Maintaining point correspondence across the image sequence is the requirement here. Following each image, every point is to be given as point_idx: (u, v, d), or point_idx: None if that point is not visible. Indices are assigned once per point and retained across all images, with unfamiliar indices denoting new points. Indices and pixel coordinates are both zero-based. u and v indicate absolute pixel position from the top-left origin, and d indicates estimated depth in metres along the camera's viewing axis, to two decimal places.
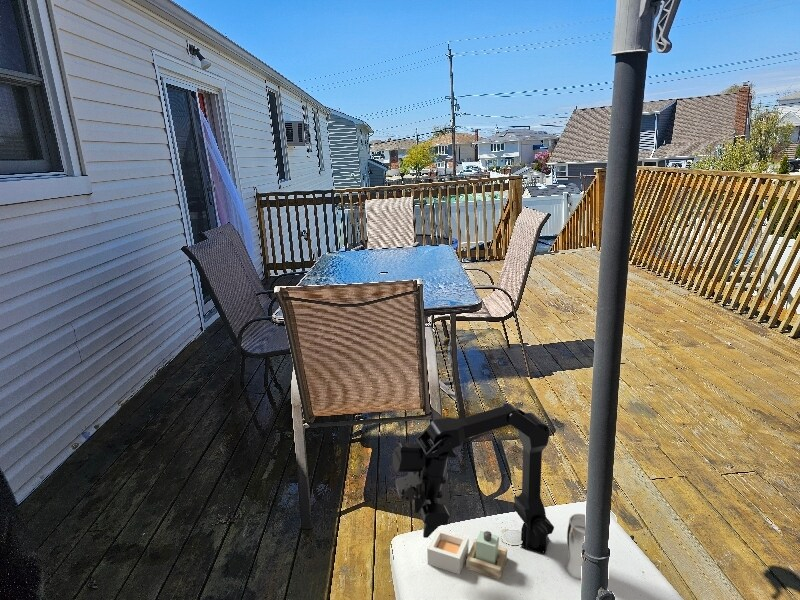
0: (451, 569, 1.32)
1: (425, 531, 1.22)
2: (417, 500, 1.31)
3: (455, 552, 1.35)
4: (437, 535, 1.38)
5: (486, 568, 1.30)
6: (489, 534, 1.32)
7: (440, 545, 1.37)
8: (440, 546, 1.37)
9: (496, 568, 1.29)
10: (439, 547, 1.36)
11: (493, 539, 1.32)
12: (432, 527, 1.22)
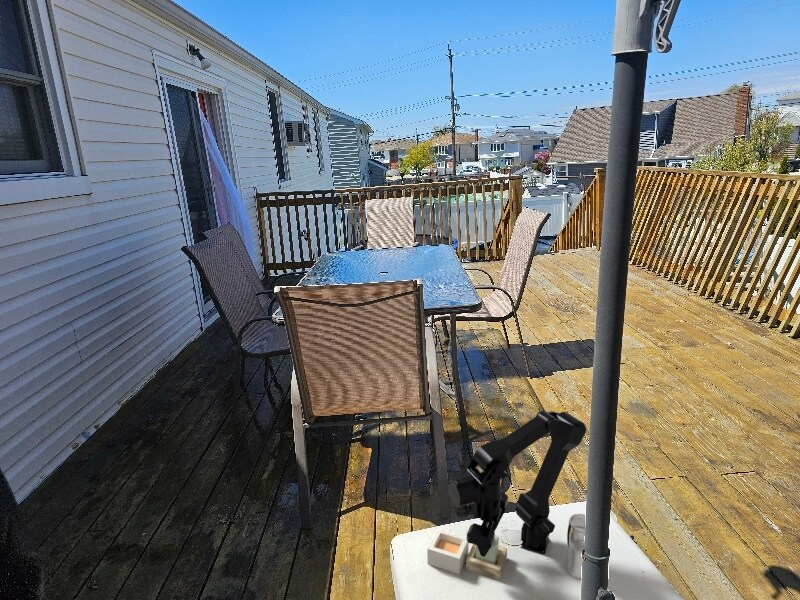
0: (451, 569, 1.32)
1: (479, 550, 1.28)
2: None
3: (455, 552, 1.35)
4: (437, 535, 1.38)
5: (486, 568, 1.30)
6: None
7: (440, 545, 1.37)
8: (440, 546, 1.37)
9: (496, 568, 1.29)
10: (439, 547, 1.36)
11: None
12: (484, 548, 1.27)
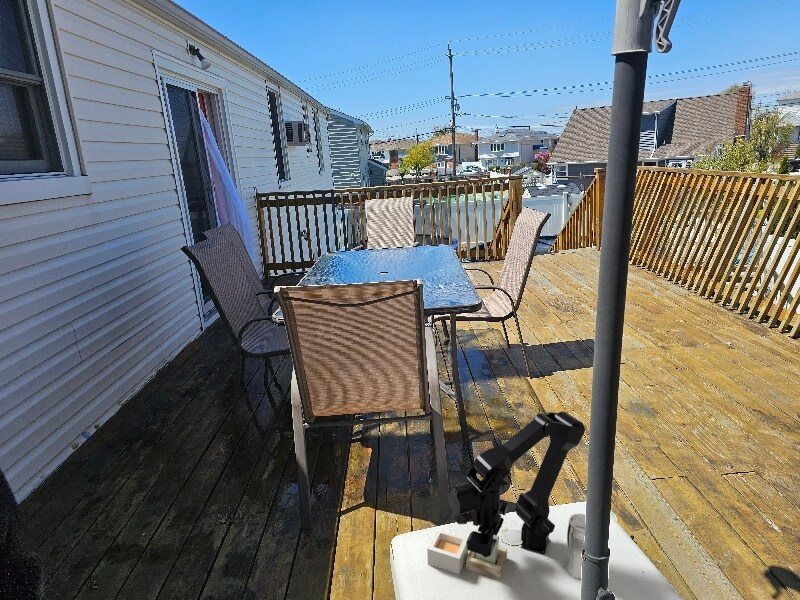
0: (451, 569, 1.32)
1: None
2: None
3: (455, 552, 1.35)
4: (437, 535, 1.38)
5: (486, 568, 1.30)
6: None
7: (440, 545, 1.37)
8: (440, 546, 1.37)
9: (496, 568, 1.29)
10: (439, 547, 1.36)
11: None
12: None
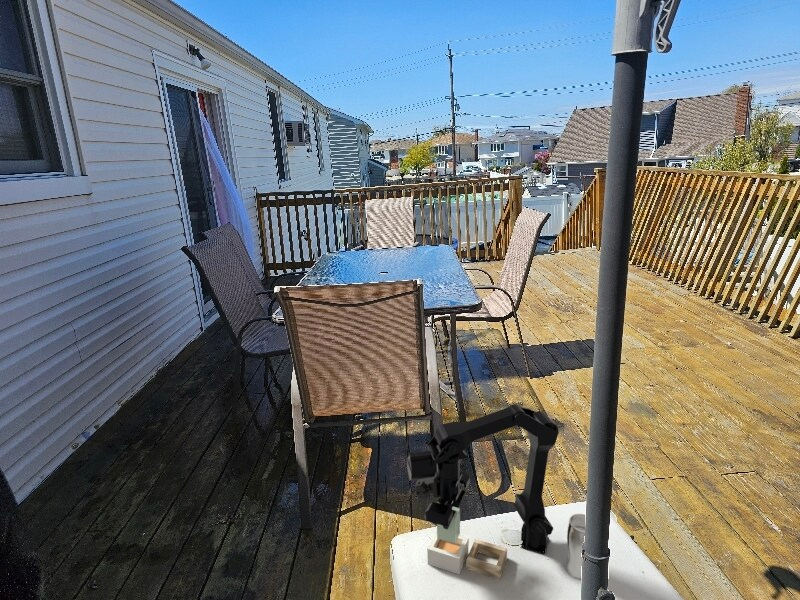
0: (451, 569, 1.32)
1: None
2: None
3: (455, 552, 1.35)
4: None
5: (486, 568, 1.30)
6: None
7: (440, 545, 1.37)
8: (440, 546, 1.37)
9: (496, 568, 1.29)
10: (439, 547, 1.36)
11: None
12: None
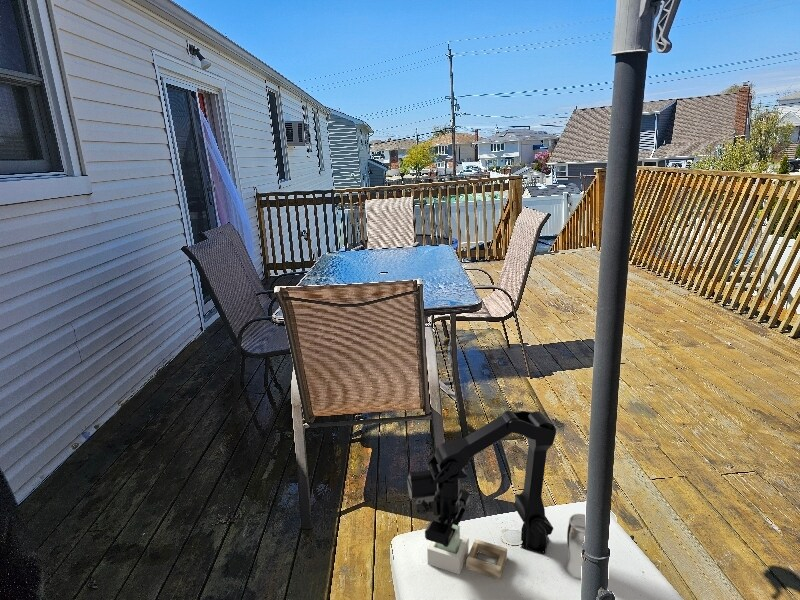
0: (451, 569, 1.32)
1: None
2: None
3: None
4: None
5: (486, 568, 1.30)
6: None
7: None
8: None
9: (496, 568, 1.29)
10: None
11: None
12: None
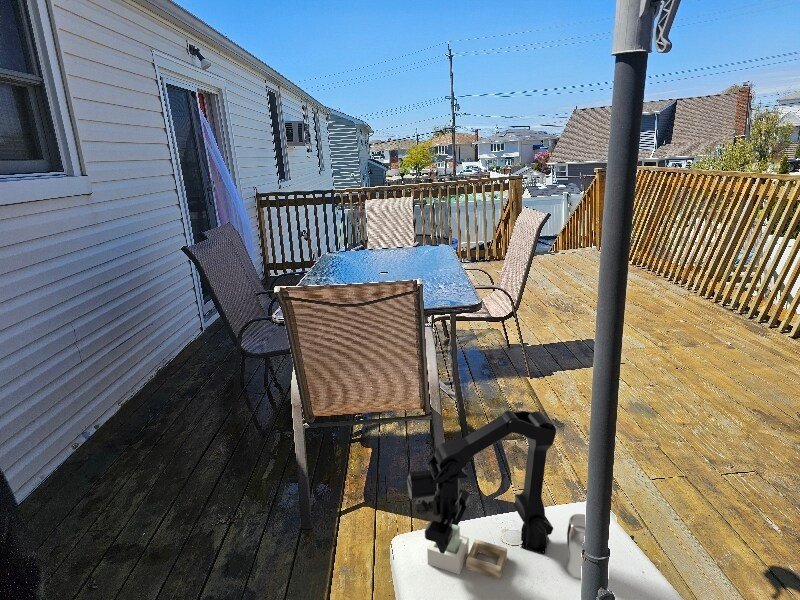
0: (451, 569, 1.32)
1: (438, 546, 1.30)
2: None
3: None
4: None
5: (486, 568, 1.30)
6: (450, 524, 1.33)
7: None
8: None
9: (496, 568, 1.29)
10: None
11: (454, 529, 1.33)
12: (443, 544, 1.28)
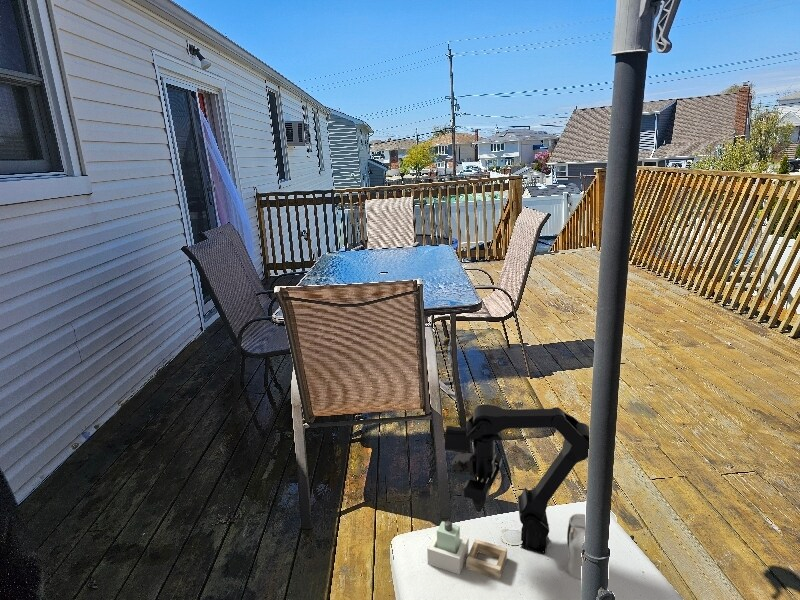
0: (451, 569, 1.32)
1: (474, 505, 1.34)
2: None
3: None
4: None
5: (486, 568, 1.30)
6: (450, 524, 1.33)
7: None
8: None
9: (496, 568, 1.29)
10: None
11: (454, 529, 1.33)
12: (479, 503, 1.33)
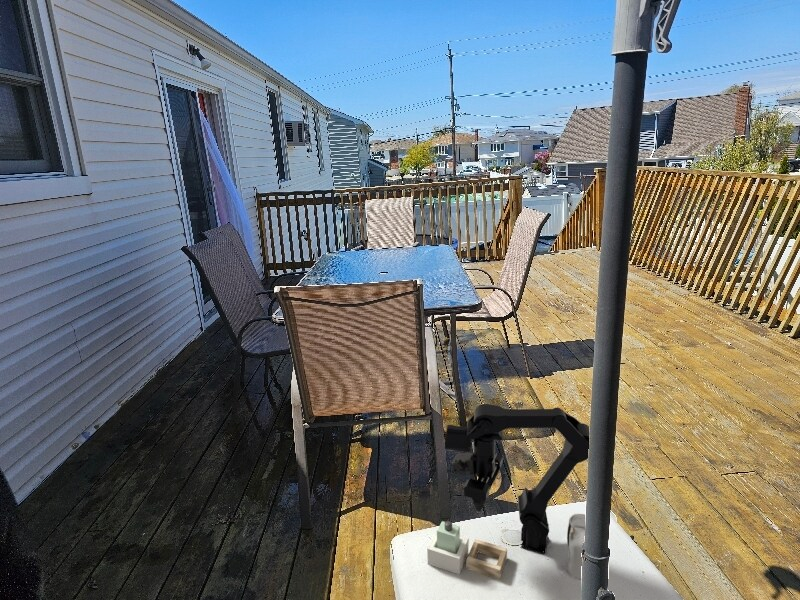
0: (451, 569, 1.32)
1: (475, 504, 1.34)
2: None
3: None
4: None
5: (486, 568, 1.30)
6: (450, 524, 1.33)
7: None
8: None
9: (496, 568, 1.29)
10: None
11: (454, 529, 1.33)
12: (479, 502, 1.33)
